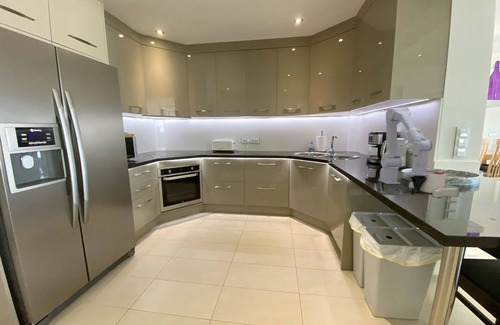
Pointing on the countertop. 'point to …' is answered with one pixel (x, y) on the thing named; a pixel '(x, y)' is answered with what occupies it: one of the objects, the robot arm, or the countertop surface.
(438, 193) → the clip post
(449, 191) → the end holder
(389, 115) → the robot arm
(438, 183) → the cup
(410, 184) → the clip post
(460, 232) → the countertop surface
